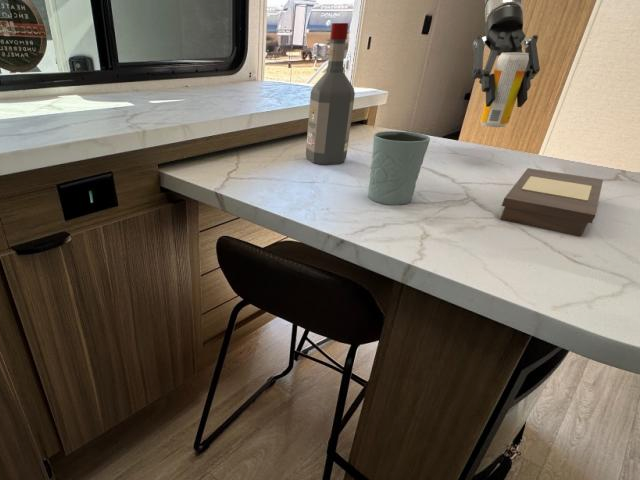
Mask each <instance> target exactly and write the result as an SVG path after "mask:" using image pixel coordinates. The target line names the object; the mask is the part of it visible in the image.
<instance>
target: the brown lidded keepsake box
mask: <svg viewBox="0 0 640 480" xmlns="http://www.w3.org/2000/svg"><path fill="white" fill-rule="evenodd" d="M603 182H604V179H602V178H596V177H590V176H582V175H576V174H571V173H563V172H556V171H550V170H545V169H544V170H543V169H536V168H529V167H527V168H526V169H525V171H524V172H523V173H522V174H521V176H520V177H519V179H518V180H517V181H516V182H515V184H514V185H513V186H512V187H511V189H510V190H509V191H508V193H507V194H506V195H505V197H504V198H503V201H502V203H501V207H504V209H503V210H502V214H501V216H500V220H504V221H507V222H511V223H518V224H522V225H526V226H531V227H535V228H541V229H545V230H548V231H549V230H550V231H554V232H558V233H563V234H568V235H573V236H578V237H582V235H583V233H584V231H585V229H586V227H587V226H588V224H593V222H594V220H595V217H596V215H597V210H598V207H599V200H600V197H601V192H602V187H603Z"/></svg>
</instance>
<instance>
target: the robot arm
mask: <svg viewBox="0 0 640 480" xmlns="http://www.w3.org/2000/svg"><path fill="white" fill-rule="evenodd" d="M523 8H524V7H523V0H484V20H485V24H484V25H485V27H484V29H485V30H484V31H485V36H481V35H476V36H475V39H474V41H473V42H472V45H471V48H472V51H473V64H472V79H473V80H477V79H479V81H478V83H479V84H481V92H482V93H485V102H486V107H490V105H491V104H492V102H493V101H494V100H495V76H494V73H492V71H493V68H494V65H495V62H496V61H497V60H496V59H497V58H498V56H500V55H501V53H529V54H528V56H529V61H528V64H527V67H526V70H525V73H524V76H523V79H522V82H521V86H520V89H519V92H518V95H517V98H516V107H517V108H522V107H523V105H525V103H526V102H527V101H528V91H529V90H530V89H531V85H532V83H531V80H533V79H535V77H536V76H537V75H538V73H539V72H540V71H541V68H540V60H539V55H538V47H537V46H538V45H537V42H538V40H539V36H538V35H537V34H534V35H533V36H532V37H529V36H526V34H525V32H524V31H523V30H524V13H523ZM522 44H523V45H522ZM485 45H486V47H487V48H488V49H489V50H490V52H489V54H488V56H487V61H486V63H485V65H484V52H485ZM522 48H523V49H524V52H523V50H522ZM483 67H484V69H483Z"/></svg>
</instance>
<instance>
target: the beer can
mask: <svg viewBox="0 0 640 480" xmlns="http://www.w3.org/2000/svg"><path fill="white" fill-rule="evenodd" d="M528 54H529V53H525V52H523V53H501V54H499V55H498V57H497V60H496V64H495V67H494V71H493V74H494V76H495V100H494V101H493V102H492V104H491V105H490V107H486V101H485V102H484V105H483V106H484V107H483V109H482V112H481V115H480V119H479V121H480V124H481V126H484V127H487V128H488V127H489V128H504V127H506V126H507V125H508V124H509V122H510V119H511V117H512V112H513V110H514V107H515V104H516V102H517V95H518V92H519V89H520V86H521V82H522V79H523V76H524V73H525V70H526V67H527V64H528V61H529V56H528Z"/></svg>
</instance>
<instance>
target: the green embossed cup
mask: <svg viewBox="0 0 640 480" xmlns="http://www.w3.org/2000/svg"><path fill="white" fill-rule="evenodd" d="M372 141H373V142H372V155H371V159H372V160H371V164H370V172H369V177H370V178H369V181H368V190H367V197H368V199H370V201H373V202H375V203H379V204H382V205H387V206H388V205H389V206H401V205H407V204H409V203H411V201H412V199H413V196H414V194H415V190H416V185H417V181H418V179H419V174H420V172H421V168H422V165H423V163H424V162H423V161H424V159H425V155H426V153H427V151H428V148H429V144H430V141H431V137H430V136H428V135H426V134H422V133H419V132H418V133H417V132H411V131H402V130H393V131H392V130H391V131H390V130H388V131H387V130H386V131H379V132H376V133H374V134H373V140H372Z"/></svg>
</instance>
